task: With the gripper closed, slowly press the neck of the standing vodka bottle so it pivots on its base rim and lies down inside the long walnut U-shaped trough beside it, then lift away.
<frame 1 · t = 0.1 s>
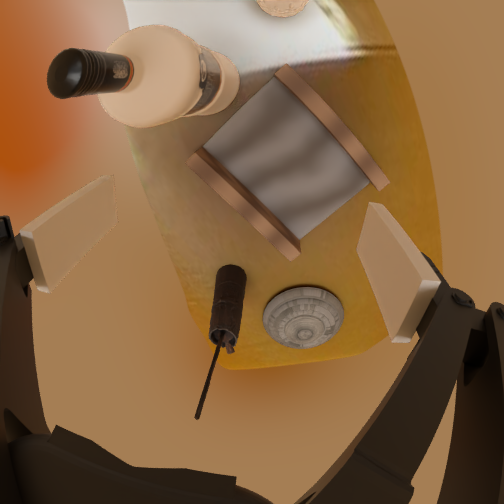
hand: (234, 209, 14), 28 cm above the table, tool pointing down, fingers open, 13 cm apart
vodka: (207, 83, 35), on the table
butter churn: (235, 281, 51), on the table
flying saucer: (303, 313, 54), on the table
u rest: (289, 164, 38), on the table
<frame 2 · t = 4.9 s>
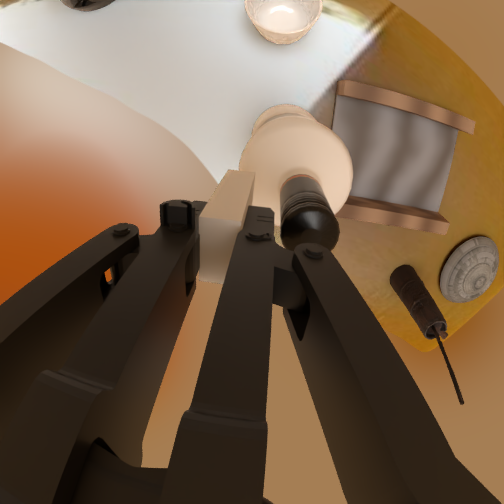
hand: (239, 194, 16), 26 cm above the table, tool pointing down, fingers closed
vodka: (286, 136, 38), on the table, touching gripper
butter churn: (406, 278, 48), on the table
flying saucer: (467, 266, 46), on the table
white cup: (282, 23, 30), on the table
u rest: (400, 159, 35), on the table
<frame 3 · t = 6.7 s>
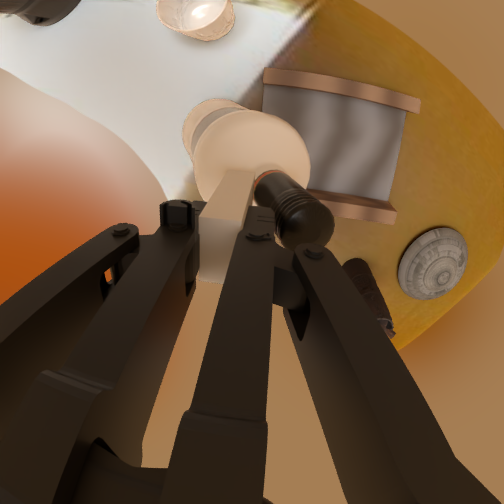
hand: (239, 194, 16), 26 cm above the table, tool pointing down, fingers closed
vodka: (216, 131, 37), point 1 cm above the table, touching gripper
butter churn: (359, 272, 48), on the table
flying saucer: (431, 261, 46), on the table
white cup: (210, 20, 30), on the table
u rest: (335, 145, 36), on the table
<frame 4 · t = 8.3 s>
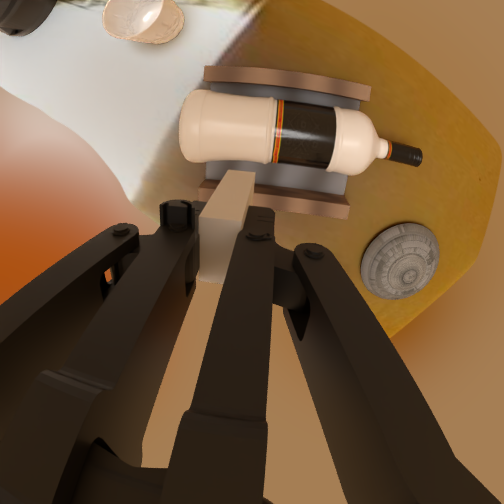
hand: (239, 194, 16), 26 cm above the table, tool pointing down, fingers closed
vodka: (186, 125, 33), point 5 cm above the table, touching u rest
flying saucer: (399, 258, 46), on the table
white cup: (162, 24, 30), on the table
u rest: (281, 139, 36), on the table
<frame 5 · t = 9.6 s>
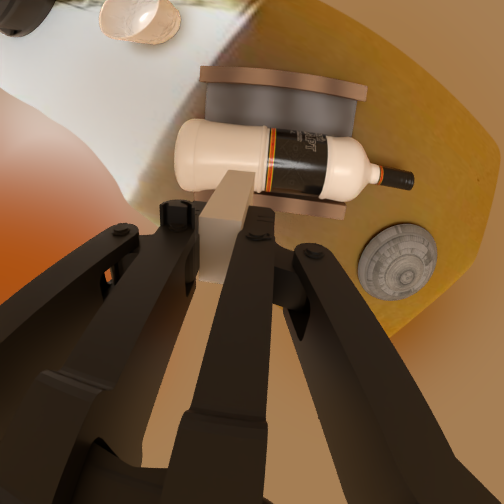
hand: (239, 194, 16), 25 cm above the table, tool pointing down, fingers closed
vodka: (181, 154, 35), point 5 cm above the table, touching u rest
flying saucer: (396, 259, 46), on the table
white cup: (159, 24, 30), on the table
u rest: (277, 139, 36), on the table
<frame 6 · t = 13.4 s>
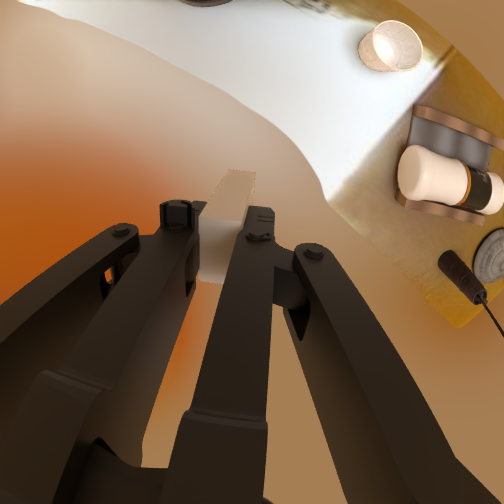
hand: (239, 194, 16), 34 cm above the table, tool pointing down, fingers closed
vodka: (406, 170, 42), point 5 cm above the table, touching u rest
butter churn: (450, 261, 55), on the table
flying saucer: (493, 253, 53), on the table
white cup: (376, 53, 37), on the table
u rest: (454, 167, 43), on the table
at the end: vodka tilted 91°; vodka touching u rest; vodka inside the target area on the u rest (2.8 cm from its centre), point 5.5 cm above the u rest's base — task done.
